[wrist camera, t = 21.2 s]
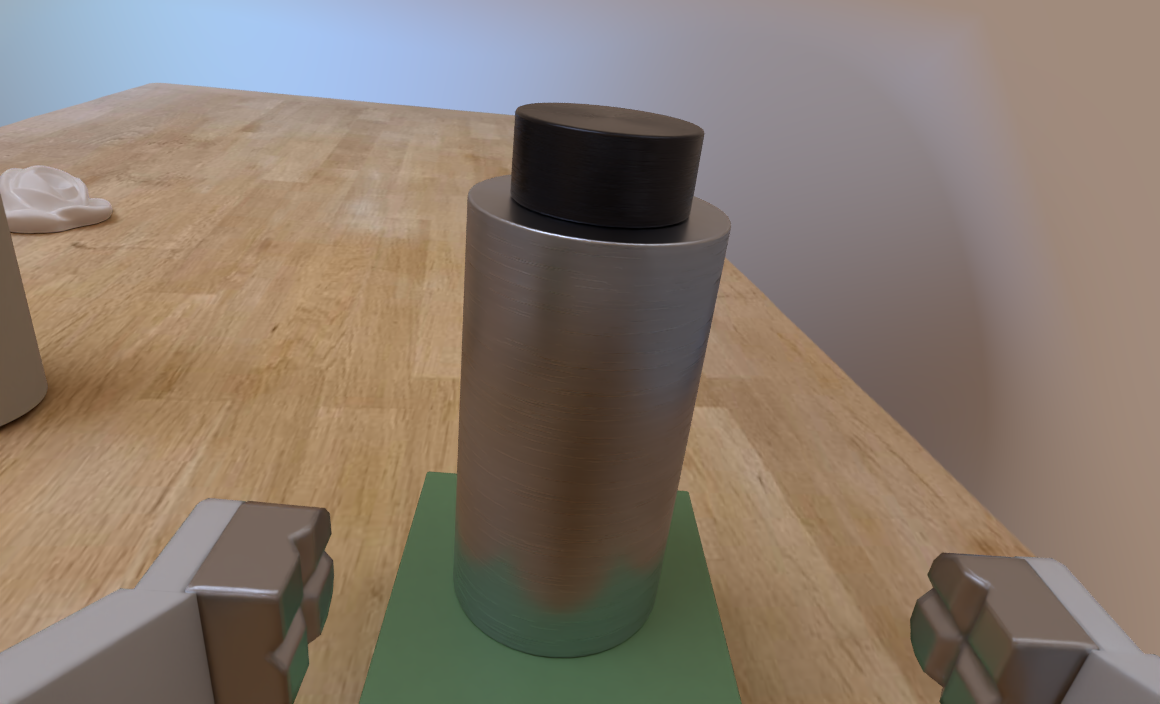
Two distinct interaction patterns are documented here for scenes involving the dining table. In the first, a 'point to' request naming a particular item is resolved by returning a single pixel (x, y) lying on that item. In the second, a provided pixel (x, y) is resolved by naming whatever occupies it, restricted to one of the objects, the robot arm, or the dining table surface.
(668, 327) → the flask
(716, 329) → the dining table surface
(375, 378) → the dining table surface
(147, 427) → the dining table surface
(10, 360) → the travel mug
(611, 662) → the green block
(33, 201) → the rose
